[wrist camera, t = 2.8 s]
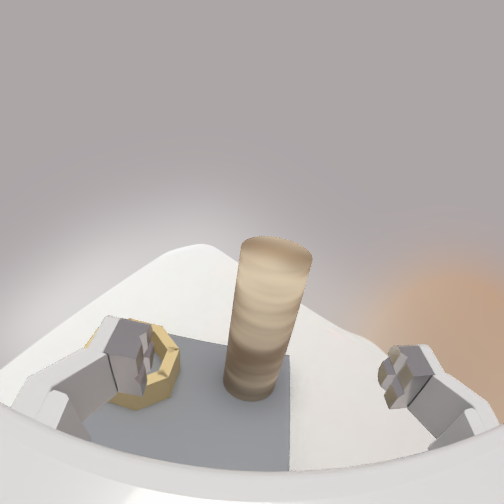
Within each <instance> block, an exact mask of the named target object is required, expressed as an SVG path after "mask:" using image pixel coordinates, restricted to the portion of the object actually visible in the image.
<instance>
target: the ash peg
mask: <svg viewBox="0 0 504 504" xmlns="http://www.w3.org/2000/svg"><path fill="white" fill-rule="evenodd" d="M311 263H312V255H311V254H310V252H309V251H308V250H307V249H305V248H304V247H302V246H301V245H299V244H297V243H295V242H292V241H289V240H286V239H282V238H277V237H269V236H263V237H262V236H261V237H253V238H250V239H247V240H245V241H244V242H243V243H242V245H241V251H240V259H239V265H238V272H237V280H236V287H235V294H234V301H233V309H232V316H231V323H230V331H229V338H228V346H227V353H226V361H225V369H224V376H223V383H224V386H225V388H226V390H227V391H228V392H229V393H230V394H231V395H232V396H234V397H235V398H237V399H240V400H243V401H248V402H255V401H260V400H263V399H265V398H267V397H268V396H269V395H270V394H271V393H272V392H273V390H274V387H275V384H276V381H277V378H278V375H279V372H280V369H281V366H282V363H283V360H284V356H285V353H286V350H287V347H288V344H289V340H290V337H291V334H292V330H293V327H294V324H295V320H296V317H297V314H298V310H299V307H300V303H301V299H302V296H303V292H304V289H305V285H306V282H307V278H308V274H309V270H310V267H311Z"/></svg>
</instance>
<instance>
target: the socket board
mask: <svg viewBox="0 0 504 504" xmlns="http://www.w3.org/2000/svg"><path fill="white" fill-rule="evenodd" d="M128 320H132V321H137V322H142V321H138V320H134V319H131V318H130V319H128ZM142 323H146V322H142ZM147 324H150V323H147ZM151 325H152V329H153V335H152V338H151V341H152V342H153V343H154V359H153V365H152V368H151V371H150V372H148V373H147V374H146V375H147V384H146V388H145V391H144V394H143V397H141V396H135V395H131V394H126V393H121V392H118V393H117V394H116V395H115V396H114V397H113V398H111V399H110V400H109V401H108V402H107V403H105V404H104V405H103V406H102V407H101V408H99V409H98V410H97V411H96V412H95V413H93V414H92V415H91V416H90V417H89V418H87V419H86V420H85V421H84V422H82V424H83V425H84V427H85V429H86V431H87V432H88V434H89V436H90V438H91V441H90V442H93V443H96V444H99V445H102V446H105V447H109V448H112V449H116V450H119V451H123V452H127V453H131V454H135V455H139V456H143V457H148V458H152V459H157V460H162V461H167V462H173V463H179V464H185V465H192V466H199V467H208V468H217V469H228V470H243V471H289V449H290V361H289V355H285V356H284V360H283V363H282V366H281V369H280V372H279V375H278V378H277V381H276V384H275V387H274V390H273V392H272V393H271V394H270V395H269V396H268V397H267V398H265V399H263V400H260V401H255V402H248V401H243V400H240V399H237V398H235V397H234V396H232V395H231V394H230V393H229V392H228V391H227V390H226V388H225V386H224V383H223V376H224V369H225V361H226V353H227V346H226V345H221V344H215V343H210V342H205V341H200V340H195V339H190V338H186V337H181V336H177V335H172V334H168V333H167V332H166V331H165V329H164V328H163V327H162V326H159V325H155V324H151ZM98 328H99V327H98ZM97 330H98V329H97ZM97 330H96V331H95V333H96V332H97ZM95 333H94V334H93V335H92V337H91V338H90V340H89V341H88V342H87V344H86V345H85V347H84V348H88V346H89V344H90V342H91V340H92V339H93V337H94V335H95Z"/></svg>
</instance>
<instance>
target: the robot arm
mask: <svg viewBox="0 0 504 504" xmlns="http://www.w3.org/2000/svg"><path fill="white" fill-rule="evenodd" d="M152 335H153V329H152V325H151V324H147V323H142V322H137V321H132V320H128V319H123V318H117V317H113V316H109V315H108V316H106V317H105V318H104V320H103V321H102V323H101V325H100V326H99V328H98V330H97V332H96V333H95V335H94V337H93V339H92V340H91V342H90V344H89V346H88V348H81V349H80V350H78V351H76V352H74V353H72V354H70V355H68V356H67V357H65V358H63V359H61V360H59V361H57V362H55V363H54V364H52V365H50V366H48V367H46V368H44V369H42V370H41V371H39V372H37V373H35V374H33V375H31V376H29V377H28V378H27V379H26V381H25V383H24V384H23V386H22V388H21V390H20V391H19V393H18V395H17V397H16V398H15V400H14V402H13V404H12V406H11V407H8V406H6V405H5V404H3V403H1V402H0V504H504V423H503V424H501V425H500V424H499V422H498V420H497V418H496V416H495V414H494V412H493V411H492V409H491V407H490V405H489V403H488V402H487V401H486V400H484V399H483V398H481V397H480V396H479V395H477V394H476V393H475V392H473V391H472V390H470V389H469V388H468V387H466V386H465V385H463V384H462V383H461V382H459V381H458V380H456V379H455V378H454V377H452V376H451V375H450V374H445V372H444V370H443V369H442V367H441V365H440V364H439V362H438V360H437V358H436V357H435V355H434V353H433V352H432V350H431V348H430V347H429V346H428V345H426V344H424V345H397V346H393V347H391V348H390V350H389V352H388V358H387V359H386V360H385V361H383V362H382V364H381V366H380V367H379V371H378V381H379V384H380V386H381V387H382V388H383V389H384V390H385V394H384V397H385V400H386V403H387V405H388V408H389V409H399V408H407V409H408V410H409V411H410V412H411V413H412V414H413V415H414V416H415V417H416V418H417V419H418V420H419V421H420V422H421V424H422V425H423V426H424V427H425V428H426V429H427V430H428V431H429V432H430V433H431V434H432V435H433V436H434V437H435V438H436V440H435V441H434V442H433V443H431V444H430V445H429V447H428V450H429V451H426V452H422V453H418V454H414V455H410V456H406V457H402V458H397V459H393V460H388V461H382V462H377V463H371V464H365V465H358V466H351V467H343V468H333V469H322V470H307V471H243V470H228V469H217V468H208V467H199V466H192V465H185V464H179V463H173V462H167V461H162V460H157V459H152V458H148V457H143V456H139V455H135V454H131V453H127V452H123V451H119V450H116V449H112V448H109V447H105V446H102V445H99V444H96V443H93V442H90V441H91V438H90V436H89V434H88V432H87V431H86V429H85V427H84V425H83V424H82V422H84V421H85V420H86V419H87V418H89V417H90V416H91V415H92V414H93V413H95V412H96V411H97V410H98V409H99V408H101V407H102V406H103V405H104V404H105V403H107V402H108V401H109V400H110V399H111V398H113V397H114V396H115V395H116V394H117V393H118V392H121V393H126V394H131V395H135V396H141V397H143V394H144V391H145V388H146V384H147V375H146V374H147V373H148V372H150V371H151V368H152V365H153V359H154V343H153V342H152V341H151V338H152Z"/></svg>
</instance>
